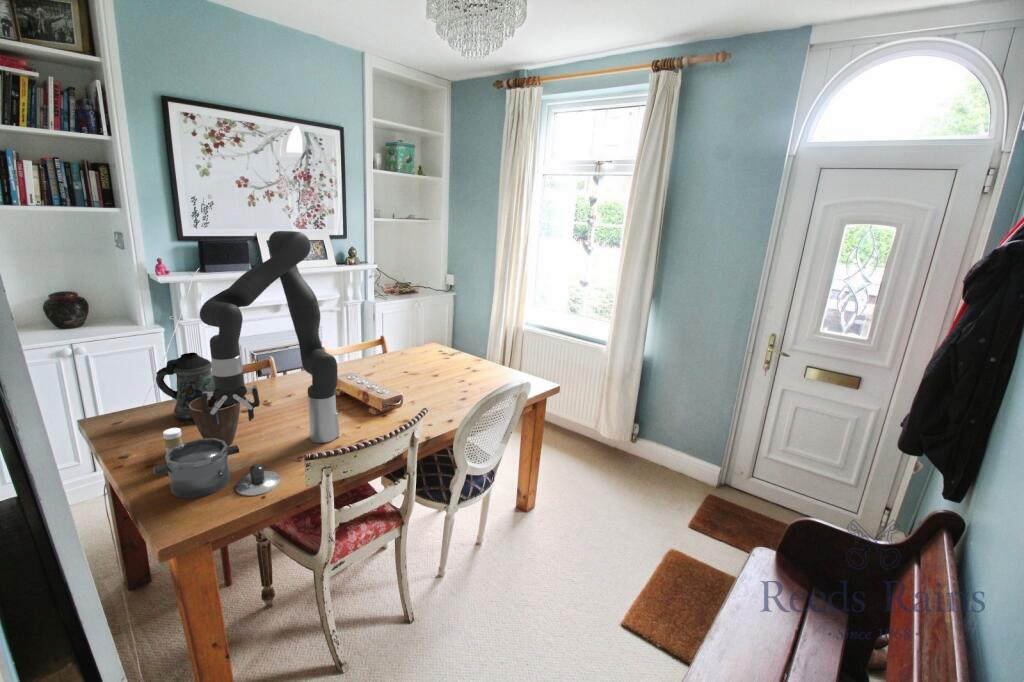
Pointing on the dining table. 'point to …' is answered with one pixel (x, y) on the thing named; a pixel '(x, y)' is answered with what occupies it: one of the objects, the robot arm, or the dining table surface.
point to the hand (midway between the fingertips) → (233, 422)
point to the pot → (197, 467)
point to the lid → (257, 481)
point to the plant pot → (226, 418)
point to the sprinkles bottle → (172, 438)
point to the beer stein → (186, 382)
